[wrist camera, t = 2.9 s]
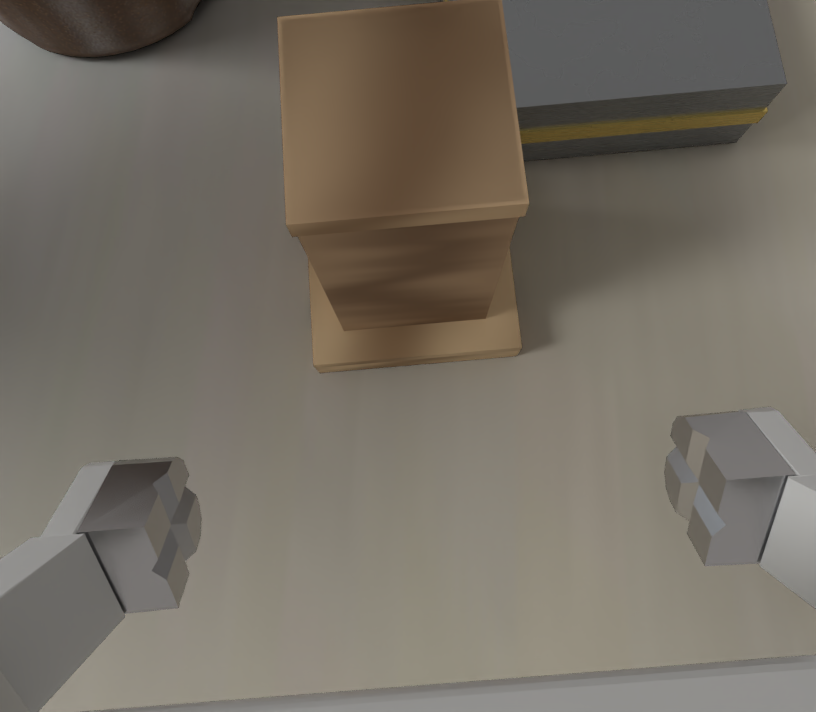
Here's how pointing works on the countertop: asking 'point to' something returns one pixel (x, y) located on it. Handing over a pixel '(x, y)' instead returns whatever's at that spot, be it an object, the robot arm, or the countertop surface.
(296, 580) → the countertop surface
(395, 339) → the pallet
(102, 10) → the plant pot
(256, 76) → the countertop surface
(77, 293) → the countertop surface
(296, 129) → the crate
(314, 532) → the countertop surface
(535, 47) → the dock
